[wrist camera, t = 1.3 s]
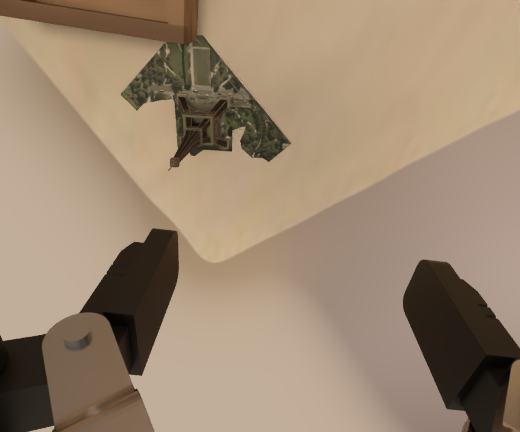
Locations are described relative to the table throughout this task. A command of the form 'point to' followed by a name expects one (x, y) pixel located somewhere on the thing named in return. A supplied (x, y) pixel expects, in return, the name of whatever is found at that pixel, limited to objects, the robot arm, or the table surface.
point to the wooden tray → (114, 16)
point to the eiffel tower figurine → (205, 102)
